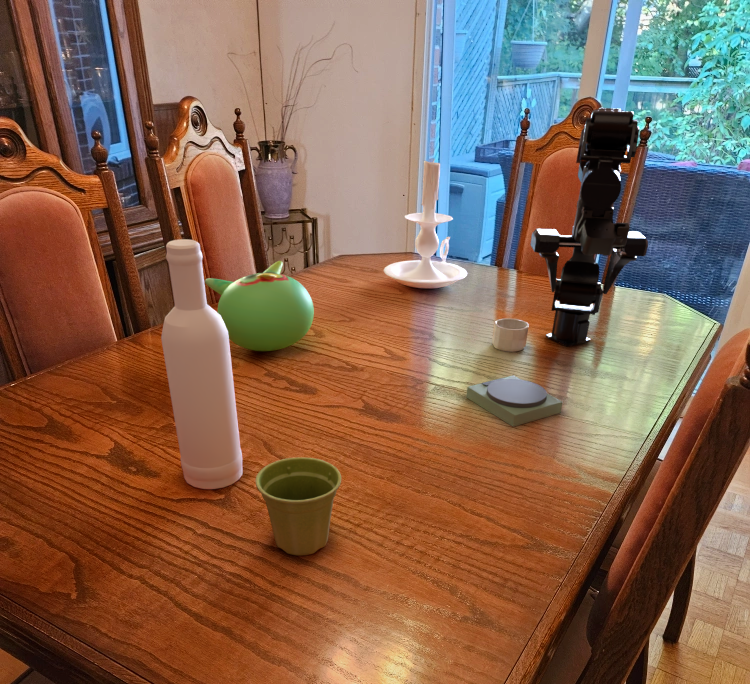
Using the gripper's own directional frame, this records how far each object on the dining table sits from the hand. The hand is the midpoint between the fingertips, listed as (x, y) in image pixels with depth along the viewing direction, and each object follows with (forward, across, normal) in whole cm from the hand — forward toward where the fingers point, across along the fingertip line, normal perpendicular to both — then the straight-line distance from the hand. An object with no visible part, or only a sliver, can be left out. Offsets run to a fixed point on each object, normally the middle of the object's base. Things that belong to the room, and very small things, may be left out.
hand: (578, 292), depth 119 cm
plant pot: (+13, -41, -60) cm, 74 cm away
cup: (+13, -10, +6) cm, 18 cm away
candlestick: (+13, -26, +49) cm, 57 cm away
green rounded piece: (+13, -57, +1) cm, 59 cm away
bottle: (+13, -55, -46) cm, 73 cm away
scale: (+13, -12, -20) cm, 27 cm away
